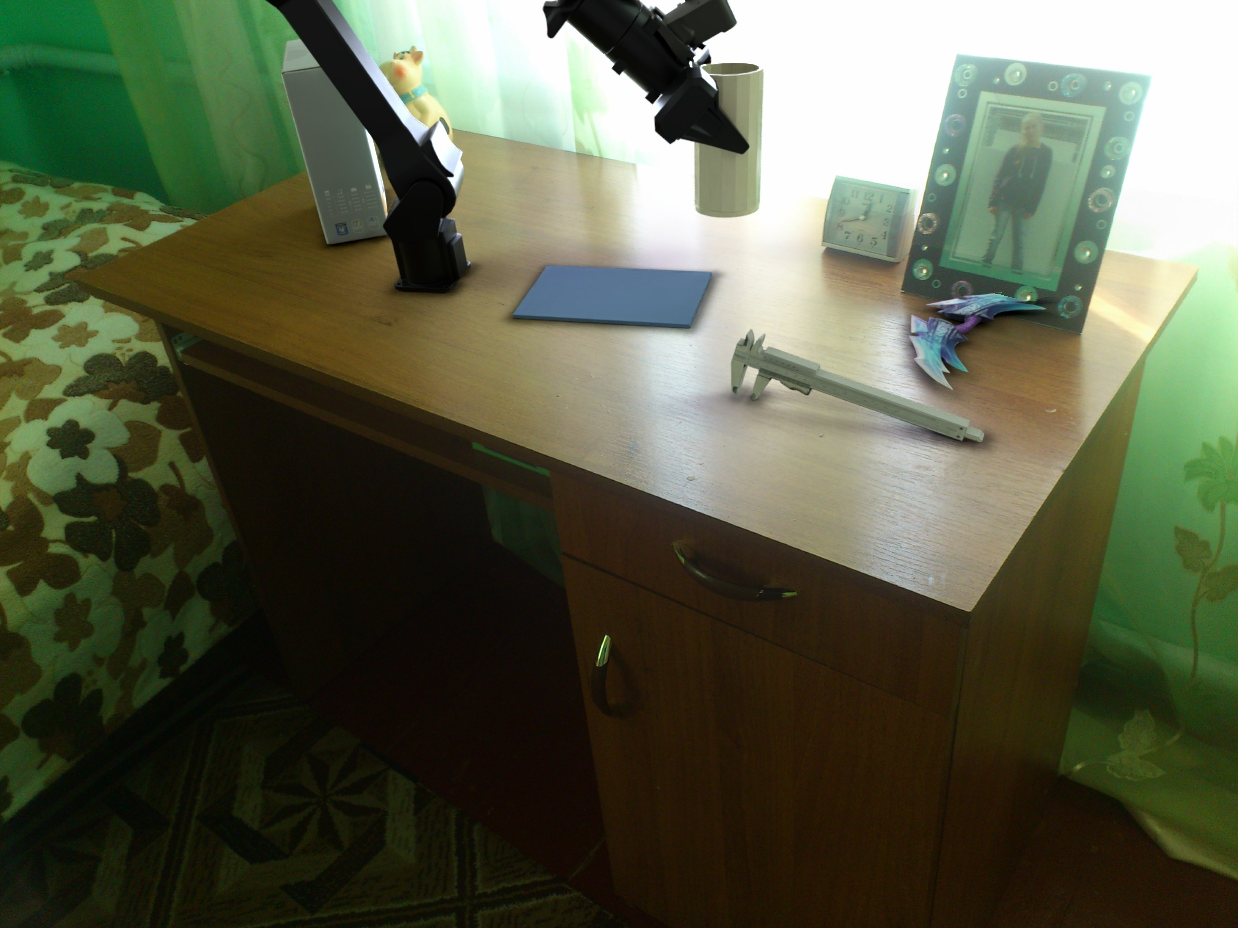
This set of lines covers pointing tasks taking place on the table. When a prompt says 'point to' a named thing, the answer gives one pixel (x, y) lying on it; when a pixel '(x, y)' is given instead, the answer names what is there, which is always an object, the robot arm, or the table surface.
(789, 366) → the caliper
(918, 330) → the decorative blades
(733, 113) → the pen cup
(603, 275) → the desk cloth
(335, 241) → the hard drive box
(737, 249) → the table surface
